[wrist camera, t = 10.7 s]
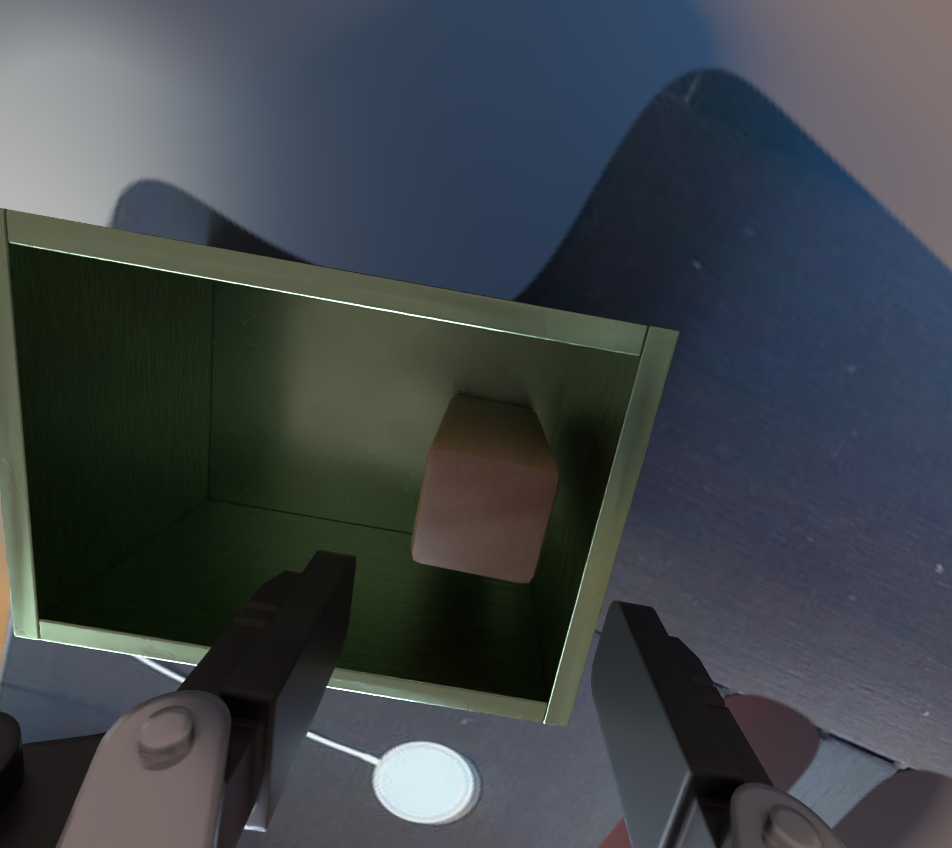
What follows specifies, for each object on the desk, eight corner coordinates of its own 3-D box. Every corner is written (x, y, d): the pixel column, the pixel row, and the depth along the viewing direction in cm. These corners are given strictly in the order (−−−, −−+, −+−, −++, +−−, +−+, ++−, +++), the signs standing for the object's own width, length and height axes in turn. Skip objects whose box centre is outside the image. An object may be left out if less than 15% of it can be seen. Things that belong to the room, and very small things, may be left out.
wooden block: (519, 489, 22) (533, 591, 14) (436, 472, 22) (405, 566, 14) (538, 408, 21) (565, 472, 13) (451, 391, 21) (428, 444, 13)
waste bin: (595, 317, 21) (680, 331, 12) (537, 563, 24) (568, 728, 15) (204, 246, 21) (-30, 202, 11) (199, 505, 24) (13, 636, 14)
